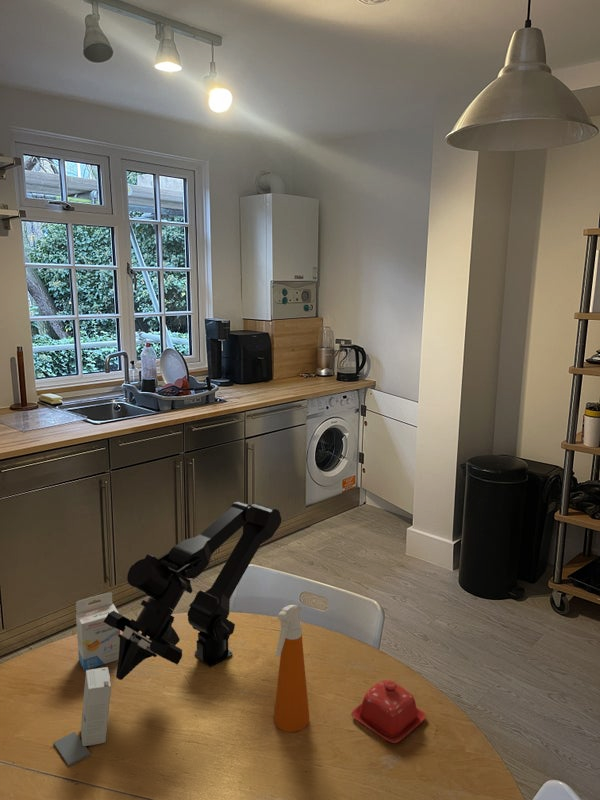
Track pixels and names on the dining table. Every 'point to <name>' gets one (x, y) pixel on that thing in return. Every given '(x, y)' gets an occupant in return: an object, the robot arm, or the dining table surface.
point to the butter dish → (389, 711)
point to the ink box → (96, 632)
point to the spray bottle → (291, 674)
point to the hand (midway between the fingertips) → (118, 678)
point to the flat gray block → (71, 748)
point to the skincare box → (95, 706)
